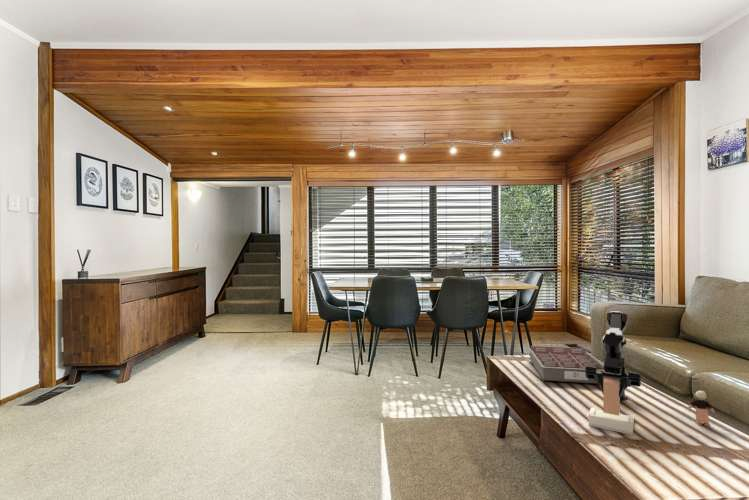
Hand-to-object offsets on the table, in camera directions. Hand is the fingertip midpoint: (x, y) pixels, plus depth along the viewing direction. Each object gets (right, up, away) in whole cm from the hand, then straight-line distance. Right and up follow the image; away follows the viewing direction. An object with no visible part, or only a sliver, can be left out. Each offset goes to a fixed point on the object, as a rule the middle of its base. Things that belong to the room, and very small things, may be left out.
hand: (611, 395), depth 151 cm
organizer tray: (+13, -11, +63) cm, 65 cm away
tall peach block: (+1, -7, +1) cm, 7 cm away
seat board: (+1, -11, +1) cm, 11 cm away
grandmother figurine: (+34, -11, -1) cm, 35 cm away
